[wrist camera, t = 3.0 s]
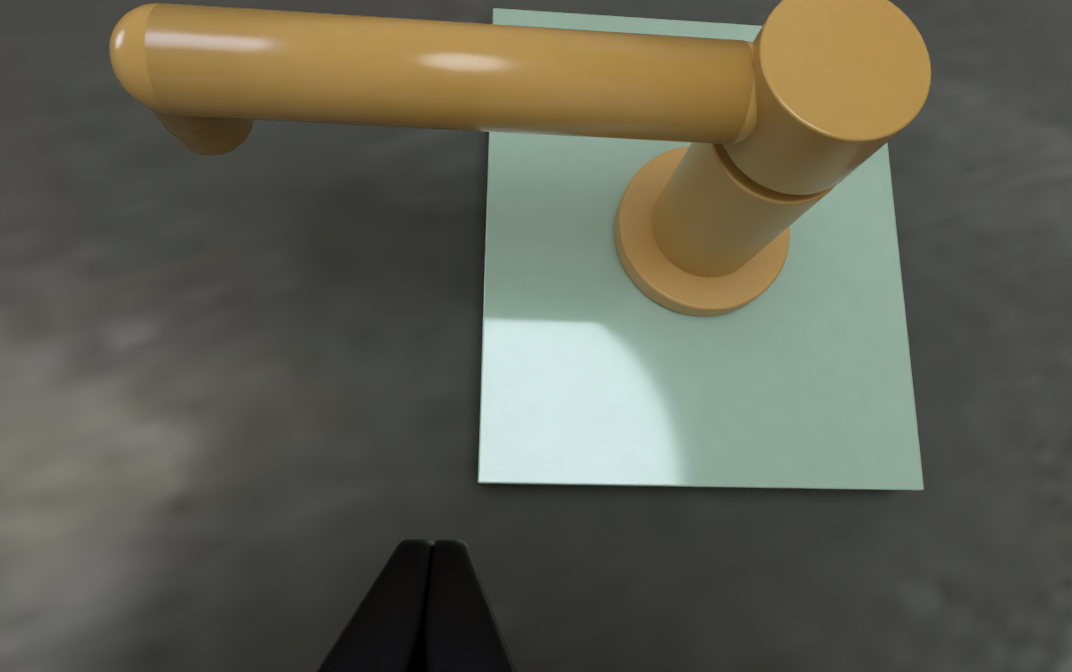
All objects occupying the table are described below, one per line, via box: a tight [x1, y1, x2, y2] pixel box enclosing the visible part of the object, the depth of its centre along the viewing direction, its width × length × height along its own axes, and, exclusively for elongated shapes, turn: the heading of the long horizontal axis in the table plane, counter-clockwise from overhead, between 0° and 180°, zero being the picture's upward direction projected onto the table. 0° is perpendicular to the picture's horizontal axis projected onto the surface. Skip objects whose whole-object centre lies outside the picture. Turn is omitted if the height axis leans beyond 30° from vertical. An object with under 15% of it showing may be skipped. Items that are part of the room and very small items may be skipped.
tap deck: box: [478, 8, 924, 490], centre depth 20 cm, size 14×12×2 cm
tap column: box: [614, 142, 836, 316], centre depth 17 cm, size 5×5×6 cm
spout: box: [109, 0, 931, 195], centre depth 13 cm, size 14×3×3 cm, turn 89°
